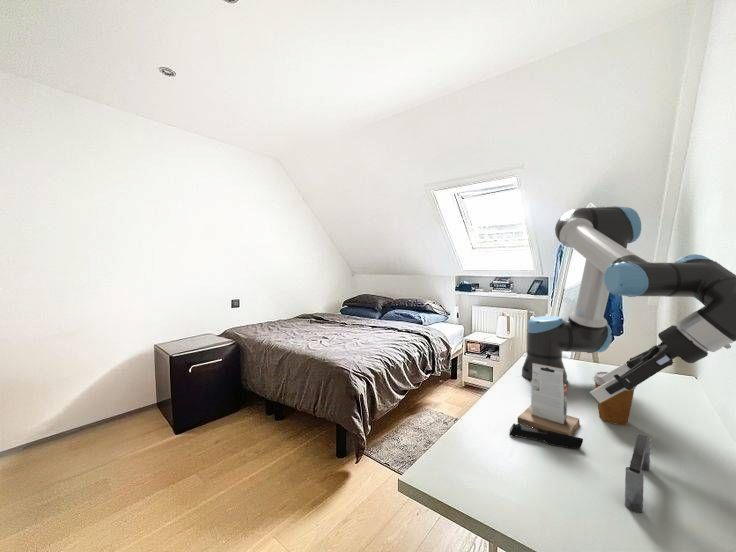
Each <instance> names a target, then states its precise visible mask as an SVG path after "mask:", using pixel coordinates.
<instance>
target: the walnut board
mask: <svg viewBox="0 0 736 552" xmlns="http://www.w3.org/2000/svg"><path fill="white" fill-rule="evenodd" d="M518 423H520V425H523V426H527V427H533V428H537V429H538V428H539V429H542V430H546V431H552V432H556V433H561V434H565V435H570V436H574V435H573V434H574V433H575V431H576V430H577V428H578V427H579V425H580V418H578V417H575V416H572V415H567V419H566V421H565V423H564V424H560V423H556V422H553V421H550V420H546V419H543V418H540V417H537V416H534V415H531V405H529V406H528V407H527V408H526V409H525V410H524V411H523V412H521V413H520V415H518V417H517V424H518Z"/></svg>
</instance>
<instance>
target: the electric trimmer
mask: <svg viewBox="0 0 736 552" xmlns="http://www.w3.org/2000/svg"><path fill="white" fill-rule="evenodd" d="M509 436H510V437H513V438H515V437H520V438H525V439H528V440H533V441H534V440H535V441H540V442H544V443H546V444H548V445H549V446H556V447H565V448H572V449H581V447H582V445H583V442H584V438H581V437H579V436H578V437H577V436H574V435H572V436H570V435H565V434H561V433H556V432H552V431H546V430H542V429H539V428H538V429H537V428H532V427H529V426H526V425H523V424H520V423H518V422H517V424H516V423H513V424H512V425H511V427H510V429H509Z"/></svg>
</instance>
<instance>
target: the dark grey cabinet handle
mask: <svg viewBox="0 0 736 552" xmlns="http://www.w3.org/2000/svg"><path fill="white" fill-rule="evenodd" d="M650 460H651V437H649V436H648V435H646V434H644V433H635V435H634V449H633V452H632V456H631V460H630V464H629V466H627V467H625V475H624V476H625V481H624V482H625V483H624V485H625V486H624V493H625V494H624V506H625V507H626V508H627V510H629V511H631V512H633V513H636V514H642V513H644V479H645V478H644V476H645V474H644V473H643V471H645V472H647V471H650V469H651V467H650V466H651V461H650Z"/></svg>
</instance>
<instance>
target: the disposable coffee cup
mask: <svg viewBox="0 0 736 552" xmlns="http://www.w3.org/2000/svg"><path fill="white" fill-rule="evenodd" d="M609 372H610V371H597V372H595V373H594V376H592V379H593V381H594V385H595V389H596V388H598V387H600V386H601V385H603V384H605V383H606V382H605V381H604V380H603V379H602V378H601V377H602V376H603V375H605V374H607V373H609ZM626 380H627V379H626ZM627 381H628V380H627ZM628 382H629V381H628ZM629 383H630V382H629ZM637 386H638V385H637ZM637 386H635V387H634V388H633V389H632V390H628V389H626V390H624V391H622V392H620V393H619V394H617V395H615V396H613V397H611V398H609V399H607V400H605V401H603V402H601V403H599V402H598V401H597V407H598V416H599V418H600V419H601V420H603V421H604V422H607V423H610V424H614V425H617V426H618V425H619V426H620V425H621V426H623V425H624V426H625V425H628V424H629V419H630V414H631V409H632V404H633V399H634V398H633V397H634V392H635V390H636V388H637Z"/></svg>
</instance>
